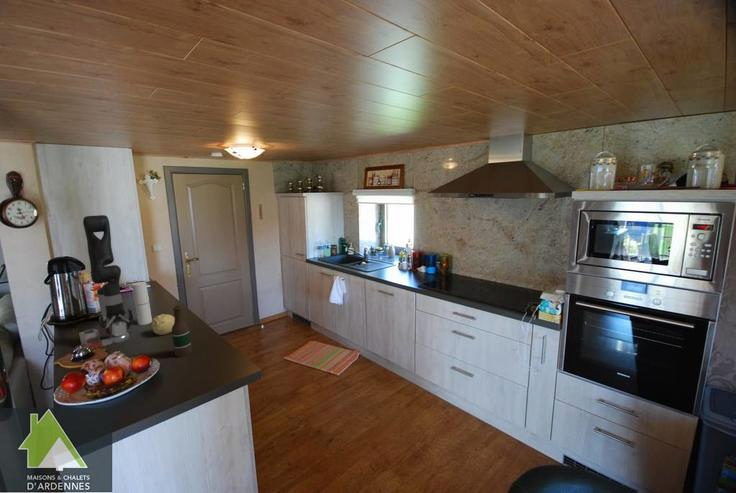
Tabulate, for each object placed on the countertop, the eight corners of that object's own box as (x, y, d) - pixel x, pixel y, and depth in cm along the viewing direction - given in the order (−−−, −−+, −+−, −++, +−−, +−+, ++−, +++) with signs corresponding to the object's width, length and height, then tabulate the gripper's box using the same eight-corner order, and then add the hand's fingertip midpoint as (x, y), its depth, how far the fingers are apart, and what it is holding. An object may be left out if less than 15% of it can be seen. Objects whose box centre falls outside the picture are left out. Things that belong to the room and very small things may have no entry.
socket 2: (112, 334, 180) (112, 322, 179) (123, 332, 183) (123, 320, 183) (115, 336, 176) (114, 324, 176) (126, 334, 180) (126, 322, 180)
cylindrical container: (145, 325, 200) (138, 285, 196) (135, 324, 201) (128, 285, 197) (155, 320, 207) (149, 281, 202) (145, 320, 208) (139, 281, 204)
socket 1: (81, 345, 176) (78, 331, 175) (94, 340, 181) (92, 327, 180) (87, 347, 173) (85, 333, 172) (100, 342, 179) (98, 329, 177)
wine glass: (75, 350, 169) (72, 337, 168) (126, 335, 186) (124, 323, 185) (79, 355, 164) (76, 341, 163) (131, 339, 181) (129, 326, 180)
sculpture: (150, 333, 188) (147, 315, 186) (173, 326, 197) (171, 309, 195) (156, 339, 180) (153, 320, 178) (180, 331, 189) (178, 313, 187)
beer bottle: (180, 358, 158) (173, 310, 154) (171, 354, 162) (164, 308, 158) (195, 351, 164) (189, 305, 160) (186, 348, 169) (180, 303, 164)
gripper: (127, 297, 184) (131, 325, 187) (95, 305, 174) (100, 333, 177) (131, 300, 180) (136, 328, 183) (98, 307, 169) (104, 337, 172)
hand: (118, 331), depth 180 cm, fingers open, 8 cm apart
